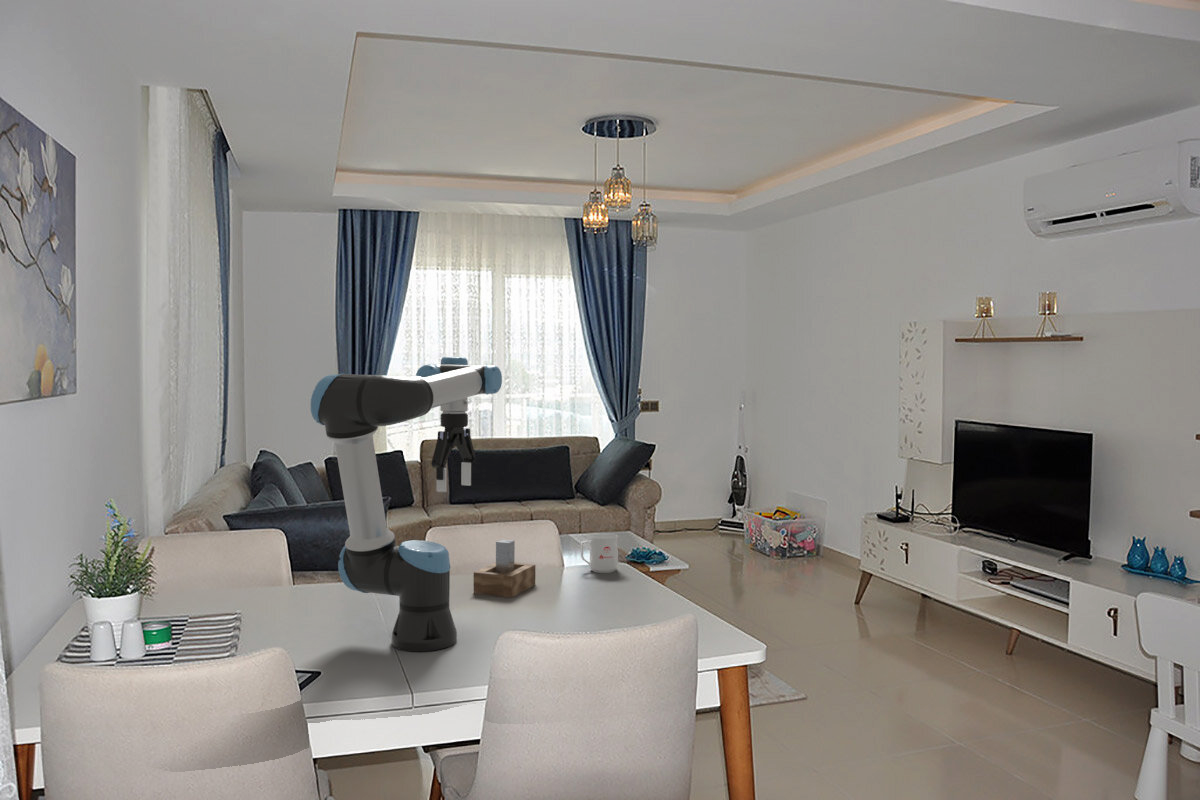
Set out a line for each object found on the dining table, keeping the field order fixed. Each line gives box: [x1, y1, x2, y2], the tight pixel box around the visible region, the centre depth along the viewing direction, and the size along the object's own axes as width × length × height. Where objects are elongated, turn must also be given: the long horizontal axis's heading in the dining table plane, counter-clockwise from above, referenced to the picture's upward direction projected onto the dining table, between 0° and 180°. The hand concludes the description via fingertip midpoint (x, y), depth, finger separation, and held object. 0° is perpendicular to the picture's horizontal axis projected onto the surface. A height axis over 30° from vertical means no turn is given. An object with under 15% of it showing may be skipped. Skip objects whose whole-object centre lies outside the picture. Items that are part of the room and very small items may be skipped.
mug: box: [580, 532, 619, 574], centre depth 292 cm, size 12×9×11 cm
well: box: [473, 561, 536, 598], centre depth 269 cm, size 16×12×6 cm
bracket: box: [495, 539, 516, 574], centre depth 270 cm, size 7×4×14 cm, turn 159°
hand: (454, 488), depth 257 cm, fingers open, 13 cm apart
